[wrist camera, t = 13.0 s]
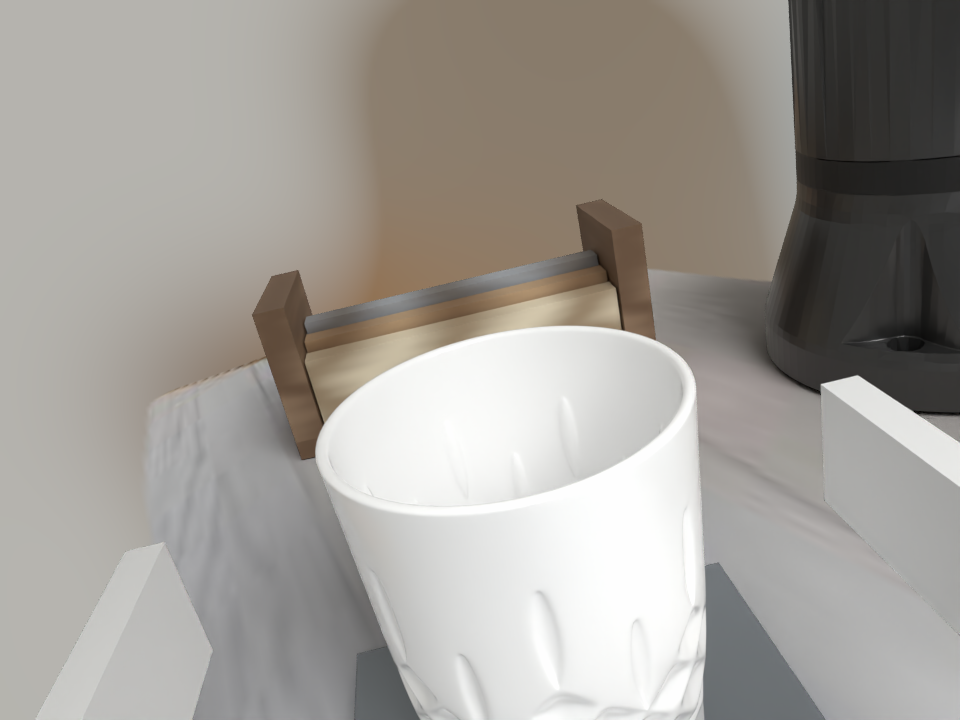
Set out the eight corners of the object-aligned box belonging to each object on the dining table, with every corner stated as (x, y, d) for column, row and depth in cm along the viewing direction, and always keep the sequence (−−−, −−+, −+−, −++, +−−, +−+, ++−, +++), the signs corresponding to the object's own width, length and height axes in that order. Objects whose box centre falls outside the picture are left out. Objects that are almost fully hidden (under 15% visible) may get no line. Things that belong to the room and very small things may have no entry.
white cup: (457, 630, 24) (378, 345, 20) (713, 622, 22) (680, 306, 18) (388, 889, 17) (247, 526, 13) (757, 909, 15) (718, 493, 11)
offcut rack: (620, 328, 46) (601, 199, 42) (659, 372, 39) (641, 223, 36) (313, 402, 45) (271, 276, 42) (301, 459, 38) (252, 315, 35)
